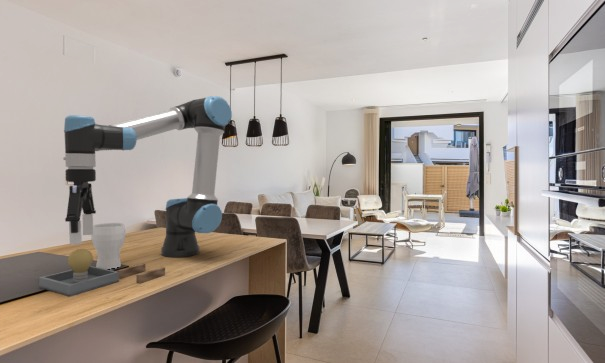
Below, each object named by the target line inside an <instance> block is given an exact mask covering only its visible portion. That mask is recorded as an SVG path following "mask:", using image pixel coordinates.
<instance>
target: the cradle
mask: <svg viewBox="0 0 605 363" xmlns="http://www.w3.org/2000/svg"><path fill="white" fill-rule="evenodd" d="M116 271H117V272H119V280H120V279H122V278H127V277H129V276H133V275H136V280H135V282H136V284H142V283H145V282H148V281H151V280H154V279H157V278H160V277H163V276H165V275H166V267H163V266H161V267H158V268H155V269H152V270H148V271H147V270H146V263H144V262H143V263H139V264H136V265H132V266H128V267H125V268H121V269H118V270H116Z"/></svg>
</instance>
